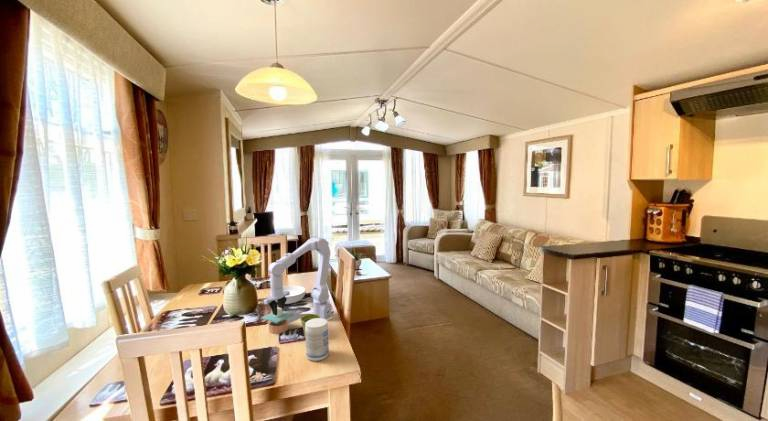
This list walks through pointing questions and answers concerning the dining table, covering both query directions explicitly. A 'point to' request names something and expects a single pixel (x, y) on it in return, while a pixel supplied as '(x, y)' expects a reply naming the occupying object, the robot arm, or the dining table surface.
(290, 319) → the mat
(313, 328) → the supplement tub
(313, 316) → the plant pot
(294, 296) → the serving bowl
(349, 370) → the dining table surface
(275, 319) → the cover sheet
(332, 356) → the dining table surface
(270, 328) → the bowl
